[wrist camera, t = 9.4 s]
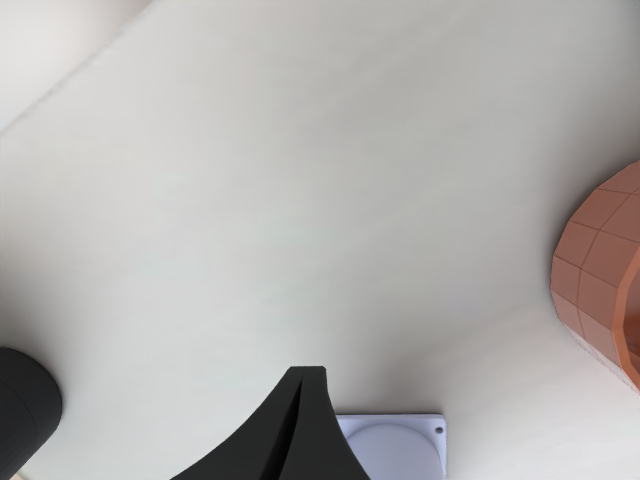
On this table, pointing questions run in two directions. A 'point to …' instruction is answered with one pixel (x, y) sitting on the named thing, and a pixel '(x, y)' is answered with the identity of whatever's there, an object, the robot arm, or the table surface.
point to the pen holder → (24, 409)
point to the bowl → (603, 275)
